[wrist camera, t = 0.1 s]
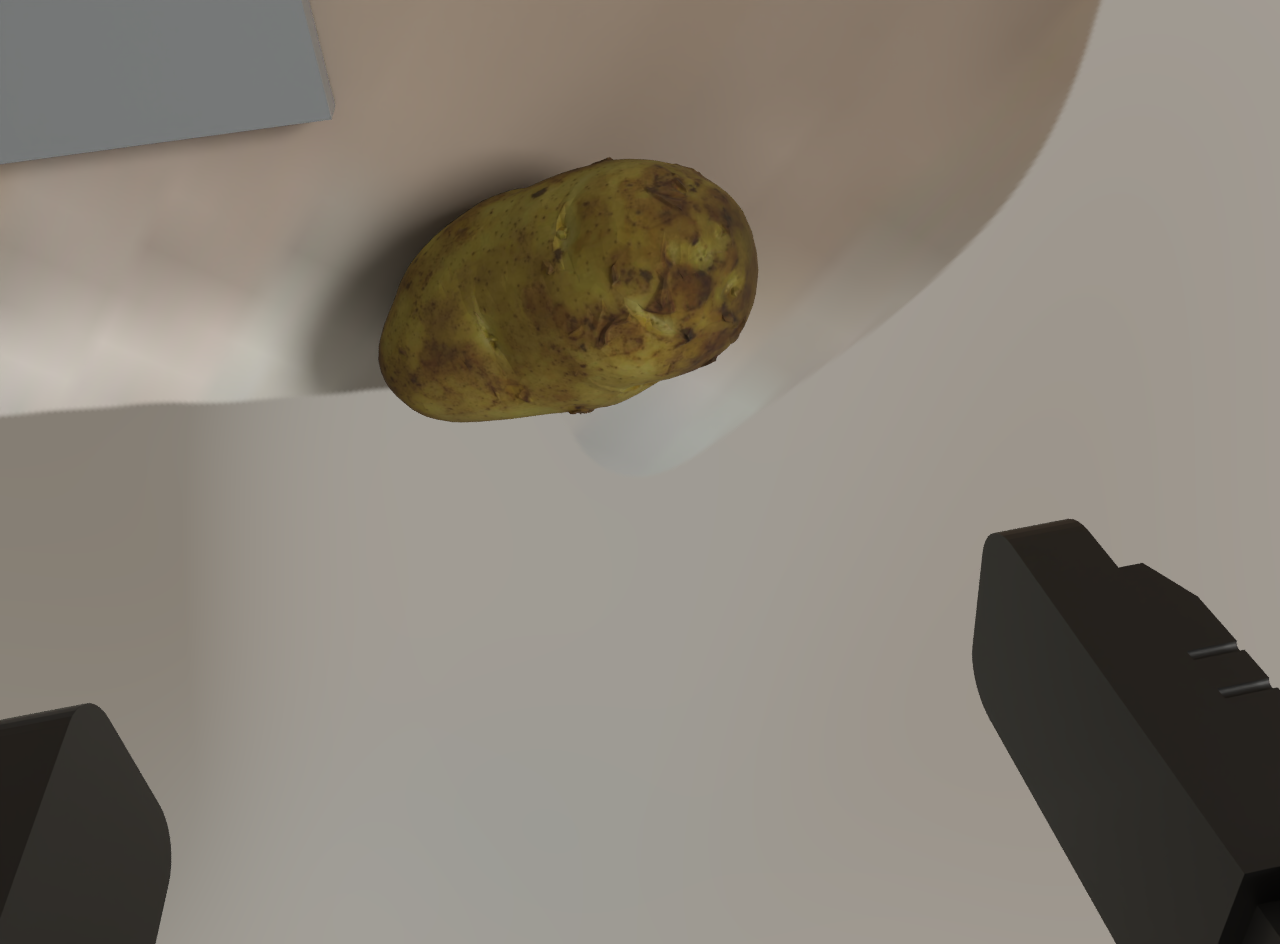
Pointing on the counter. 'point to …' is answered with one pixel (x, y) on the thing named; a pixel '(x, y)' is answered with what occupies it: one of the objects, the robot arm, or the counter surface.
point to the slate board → (153, 72)
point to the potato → (571, 294)
